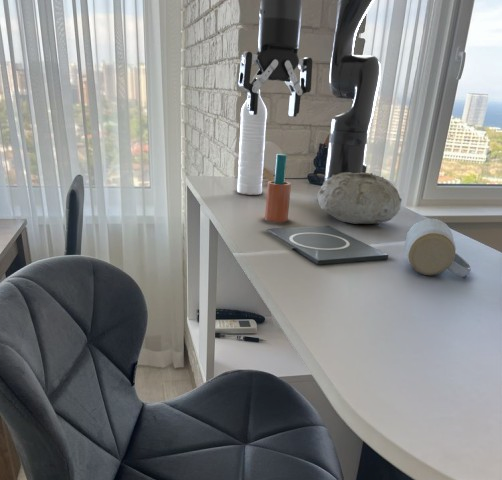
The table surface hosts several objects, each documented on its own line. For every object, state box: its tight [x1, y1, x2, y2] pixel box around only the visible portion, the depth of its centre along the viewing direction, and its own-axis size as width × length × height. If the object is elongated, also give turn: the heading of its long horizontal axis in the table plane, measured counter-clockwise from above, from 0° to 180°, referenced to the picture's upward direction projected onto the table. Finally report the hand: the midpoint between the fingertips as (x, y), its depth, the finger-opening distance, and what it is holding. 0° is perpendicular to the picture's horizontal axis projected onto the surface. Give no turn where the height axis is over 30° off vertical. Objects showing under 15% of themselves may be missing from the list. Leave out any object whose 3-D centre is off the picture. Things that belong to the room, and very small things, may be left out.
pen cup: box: [264, 180, 292, 223], centre depth 105 cm, size 5×5×8 cm
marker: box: [274, 153, 287, 184], centre depth 104 cm, size 2×2×13 cm
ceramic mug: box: [404, 218, 472, 278], centre depth 81 cm, size 11×8×8 cm
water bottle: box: [236, 88, 268, 196], centre depth 129 cm, size 9×6×25 cm
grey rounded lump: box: [317, 172, 403, 225], centre depth 109 cm, size 18×18×10 cm
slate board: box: [266, 225, 389, 266], centre depth 93 cm, size 14×20×1 cm
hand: (273, 115), depth 99 cm, fingers open, 8 cm apart
